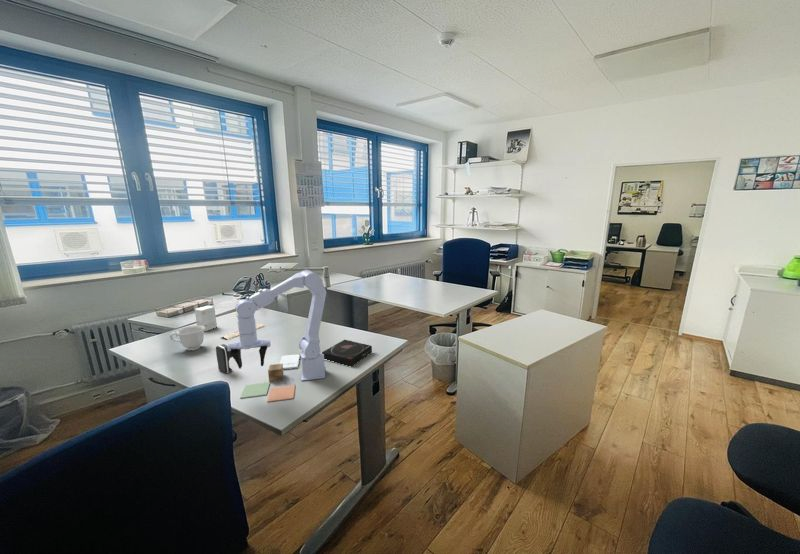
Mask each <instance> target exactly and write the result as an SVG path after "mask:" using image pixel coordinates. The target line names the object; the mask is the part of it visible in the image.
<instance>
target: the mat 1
mask: <svg viewBox="0 0 800 554" xmlns="http://www.w3.org/2000/svg"><path fill="white" fill-rule="evenodd" d="M270 384H271V382H269V381H266V382H258V383H249V384H245V385H244V388H243V391H242V392H241V395H240V399H246V398H247V399H248V398H255V397H256V398H257V397H263V396H267V395H268V392H269V389H270V386H271V385H270Z"/></svg>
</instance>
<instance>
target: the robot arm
mask: <svg viewBox="0 0 800 554" xmlns="http://www.w3.org/2000/svg"><path fill="white" fill-rule="evenodd" d="M323 281H324V280H323V278H322V277H321V276H320V275H319V274H318V273H315V272H313V271H311V270H310V269H303V270H301V271H300V272H297V273H295V274H294V275H292V276H290V277H288V278H286V280H284V281H281V282H280V283H279V284H277V285H275V286H274V287H272V288H260V289H258V290H257V291H258V292H256V293H253V294H252V295H250V296H249V295H248V296H246V297H245V299H240V300H238V301H237V303H236V304H235V307H234V308H235V309H234V310H235V312H236V313H237V327H238V331H239V336H238V337H239V342H234V343H229V344H227V351H231V353H230V354H231V356H232V359H233V360H234V361H235V363H236V364H237V367H238V370H239V369H242V367H243V362H242V350H250V349H257V348H259V350H258V353H259V357H260V367H264V364H265V357H266V356H265V355H266V353H267V349H268V348H271V340H268V339H267V340H262V339H261V340H260V339H258V336H257V335H258V334H257V329H256V325H257V324H256V319H255V313H256V311H259V310H261V309H263V308H265V307H266V306H268V305H270V304H271V303H274V301H275V298H276V297H278V296H280V295H282V294H283V293H285V292H288V291H290V290H291V289H294V288H298V289H304V288H305V287H306V288H307V290H308V291H309V292H310V293H311V294H312V297H311V302H310V306H309V312H308V317H307V322H306V329H305V332H303V334H302V337H301V339H300V340H299V343H298V347H299V349H300V350H301V354H300V360H301V363H300V364H301V377H300V381H302V382H304V381H310V380H311V381H312V380H319V379H320V380H321V379H325V378H326V371H327V369H326V368H327V367H326V366H325V360H324V354H322V353H321V346H320V344H321V343H320V341H321V339H320V337H319V333H320V330H321V324H322V318H323V313H324V309H325V308H324V307H325V304H326V303H325V301H326V297H327V290H326V288H325V285H324V282H323Z"/></svg>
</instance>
